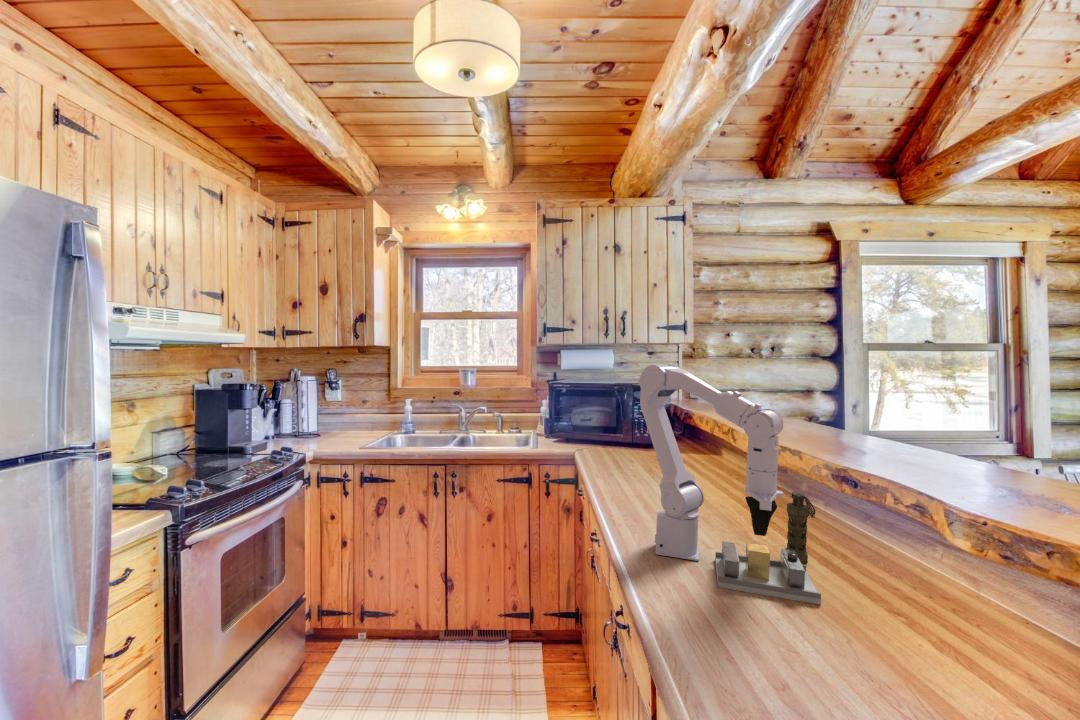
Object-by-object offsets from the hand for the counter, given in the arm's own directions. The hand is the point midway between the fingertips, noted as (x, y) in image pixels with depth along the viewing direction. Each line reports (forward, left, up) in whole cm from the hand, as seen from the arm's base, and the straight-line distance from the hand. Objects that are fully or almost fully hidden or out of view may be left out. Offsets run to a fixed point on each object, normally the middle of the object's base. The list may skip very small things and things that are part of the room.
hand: (759, 534), depth 97 cm
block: (0, 0, -8) cm, 8 cm away
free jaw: (+6, 0, -8) cm, 10 cm away
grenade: (+10, +15, -10) cm, 21 cm away
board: (+1, 0, -9) cm, 9 cm away
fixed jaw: (-6, 0, -9) cm, 11 cm away
